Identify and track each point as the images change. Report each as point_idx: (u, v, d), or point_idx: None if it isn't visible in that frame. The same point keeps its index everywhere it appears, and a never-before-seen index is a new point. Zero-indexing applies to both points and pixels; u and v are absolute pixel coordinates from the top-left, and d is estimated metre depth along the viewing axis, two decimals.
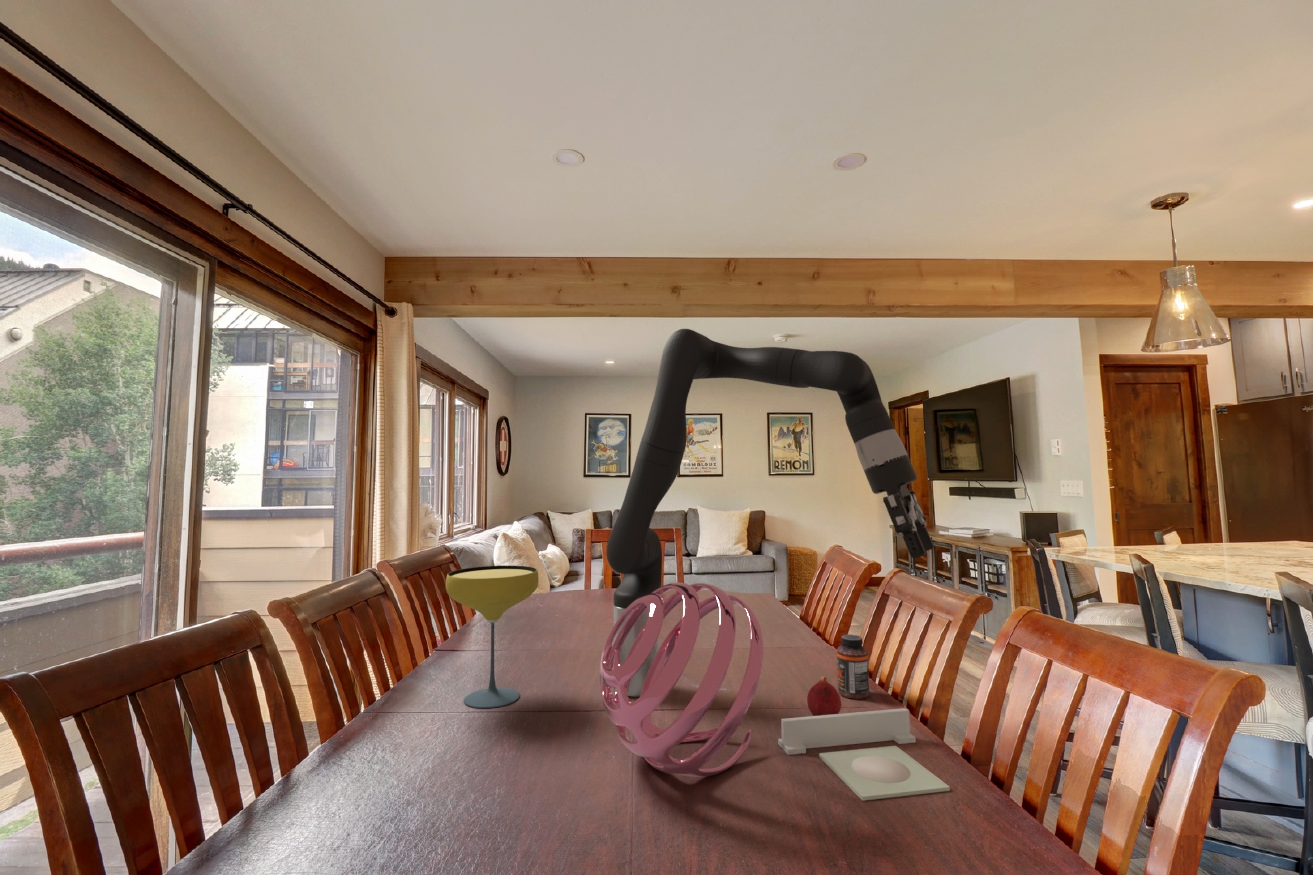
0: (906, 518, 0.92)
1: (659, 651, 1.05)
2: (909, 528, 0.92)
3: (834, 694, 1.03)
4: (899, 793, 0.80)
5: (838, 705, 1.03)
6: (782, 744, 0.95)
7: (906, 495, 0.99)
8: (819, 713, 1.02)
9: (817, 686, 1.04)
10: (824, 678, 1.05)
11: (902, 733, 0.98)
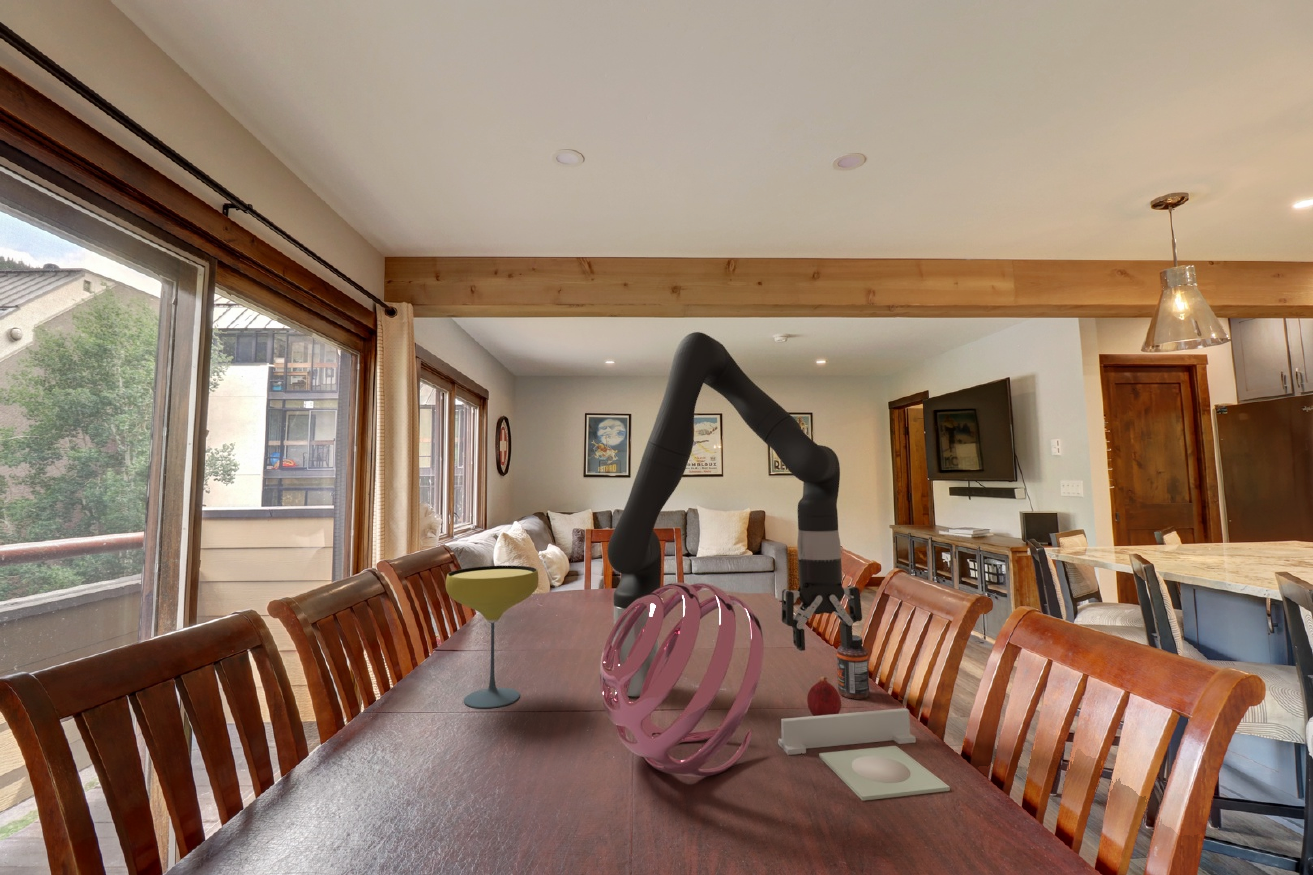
0: (786, 615, 1.04)
1: (659, 651, 1.05)
2: (787, 624, 1.04)
3: (834, 694, 1.03)
4: (899, 793, 0.80)
5: (838, 705, 1.03)
6: (782, 744, 0.95)
7: (822, 593, 1.05)
8: (819, 713, 1.02)
9: (817, 686, 1.04)
10: (824, 678, 1.05)
11: (902, 733, 0.98)
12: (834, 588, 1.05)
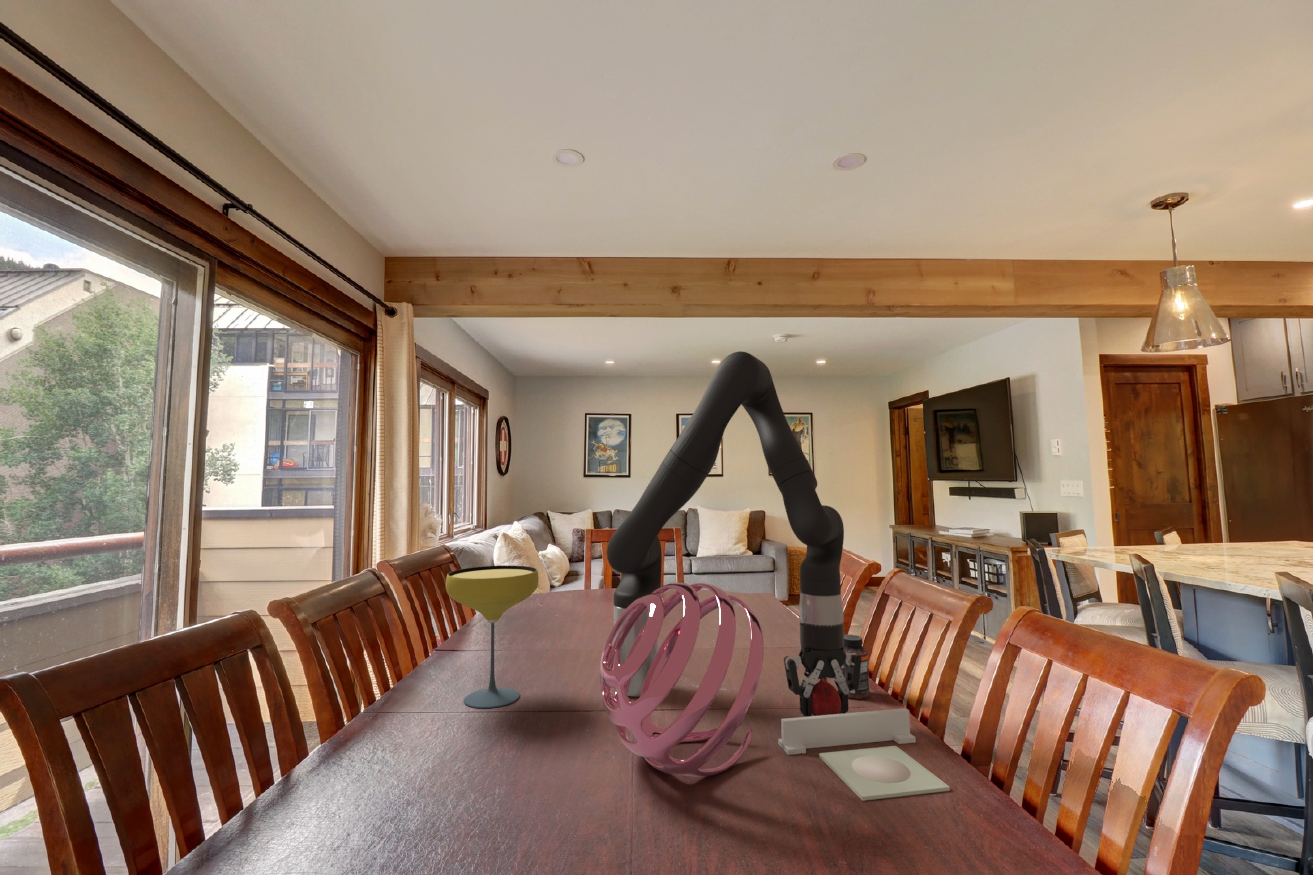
0: (792, 684, 1.03)
1: (659, 651, 1.05)
2: (794, 692, 1.03)
3: (834, 694, 1.03)
4: (899, 793, 0.80)
5: (838, 705, 1.03)
6: (782, 744, 0.95)
7: (824, 657, 1.04)
8: (819, 713, 1.02)
9: (817, 686, 1.04)
10: (824, 678, 1.05)
11: (902, 733, 0.98)
12: (836, 652, 1.05)
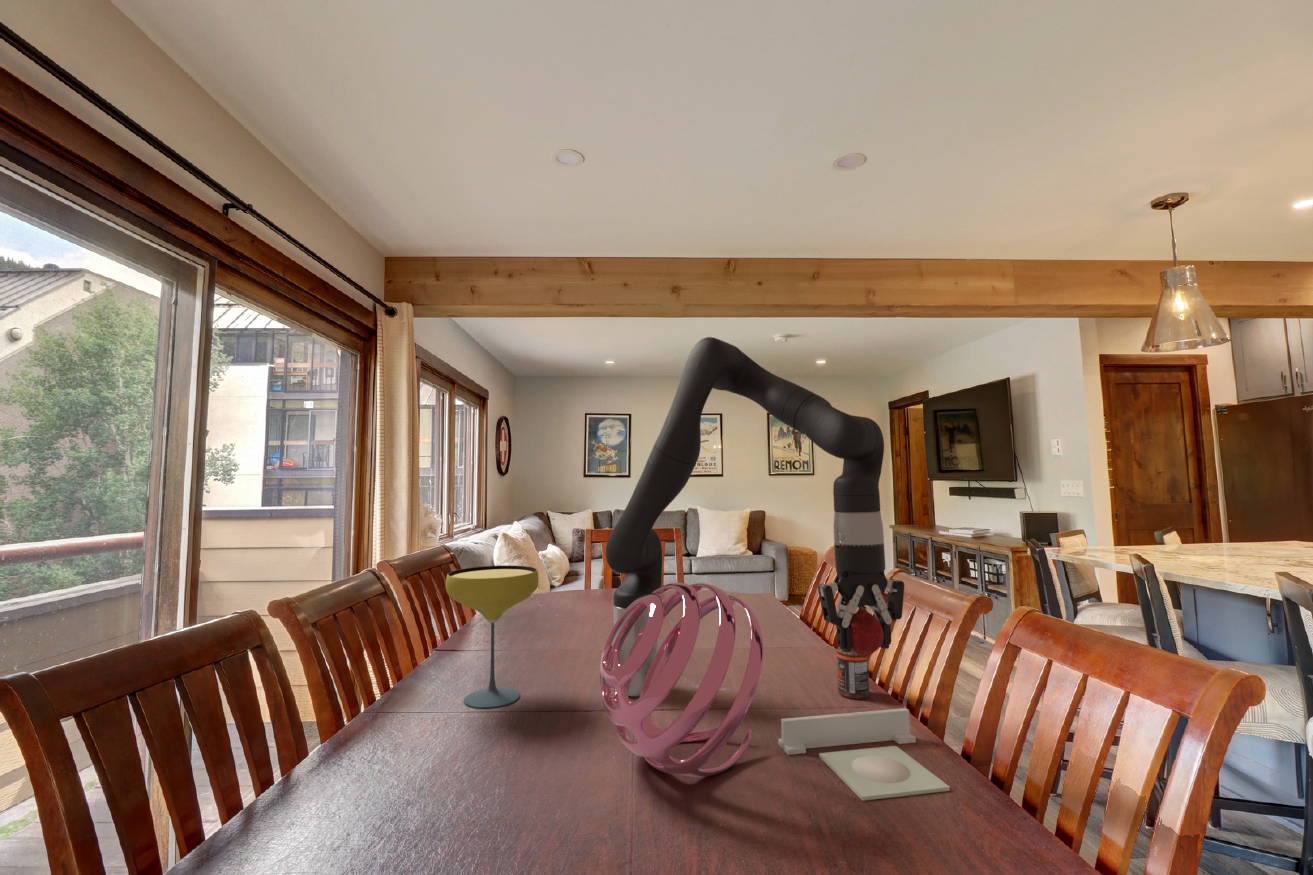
0: (829, 613, 0.91)
1: (659, 651, 1.05)
2: (831, 622, 0.91)
3: (876, 623, 0.92)
4: (899, 793, 0.80)
5: (881, 635, 0.91)
6: (782, 744, 0.95)
7: (863, 583, 0.93)
8: (860, 644, 0.91)
9: (856, 616, 0.93)
10: (863, 607, 0.93)
11: (902, 733, 0.98)
12: (876, 577, 0.93)
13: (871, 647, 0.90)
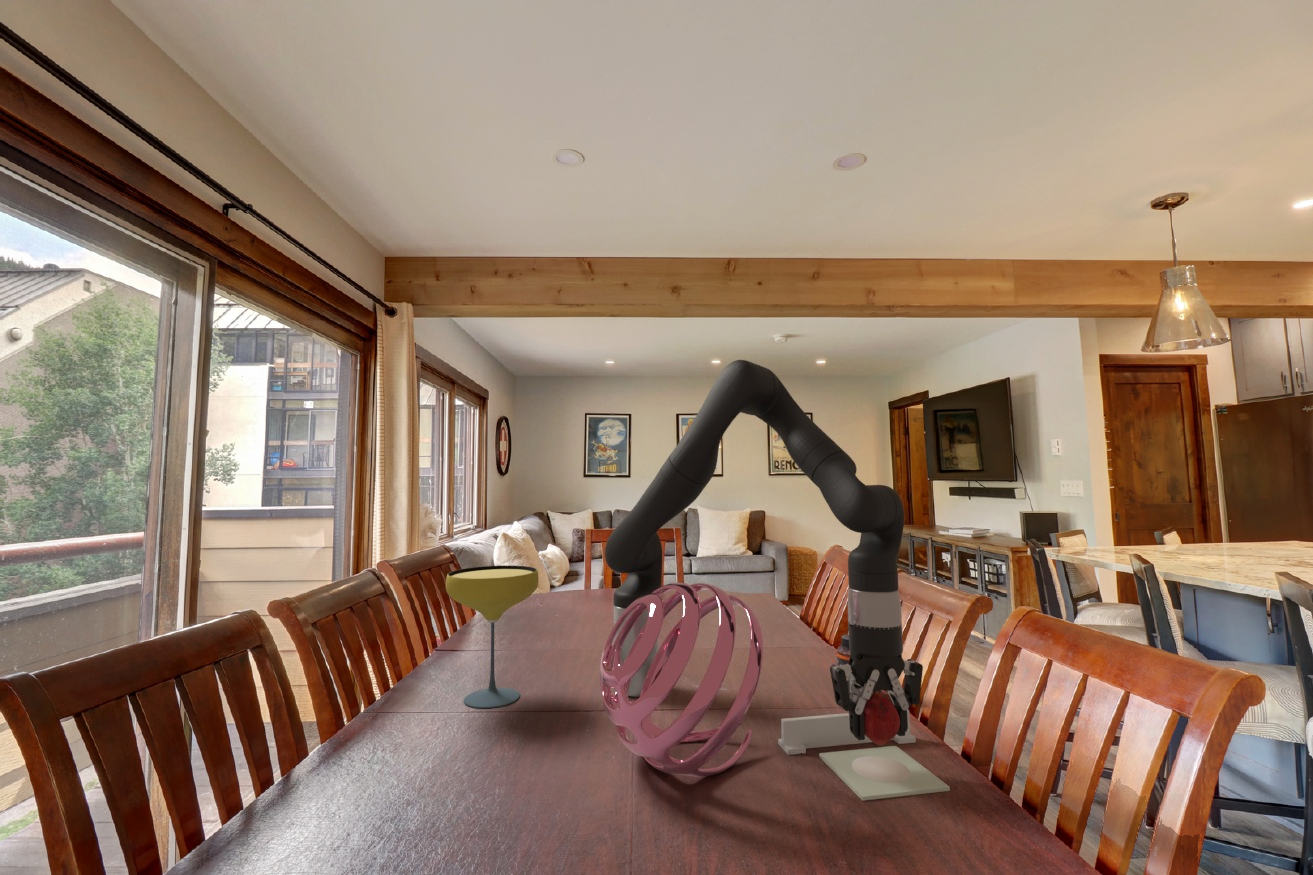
0: (841, 699, 0.86)
1: (659, 651, 1.05)
2: (843, 708, 0.86)
3: (892, 710, 0.86)
4: (899, 793, 0.80)
5: (897, 724, 0.85)
6: (782, 744, 0.95)
7: (878, 666, 0.87)
8: (874, 733, 0.85)
9: (870, 700, 0.87)
10: (879, 691, 0.88)
11: None
12: (893, 660, 0.87)
13: (887, 736, 0.85)
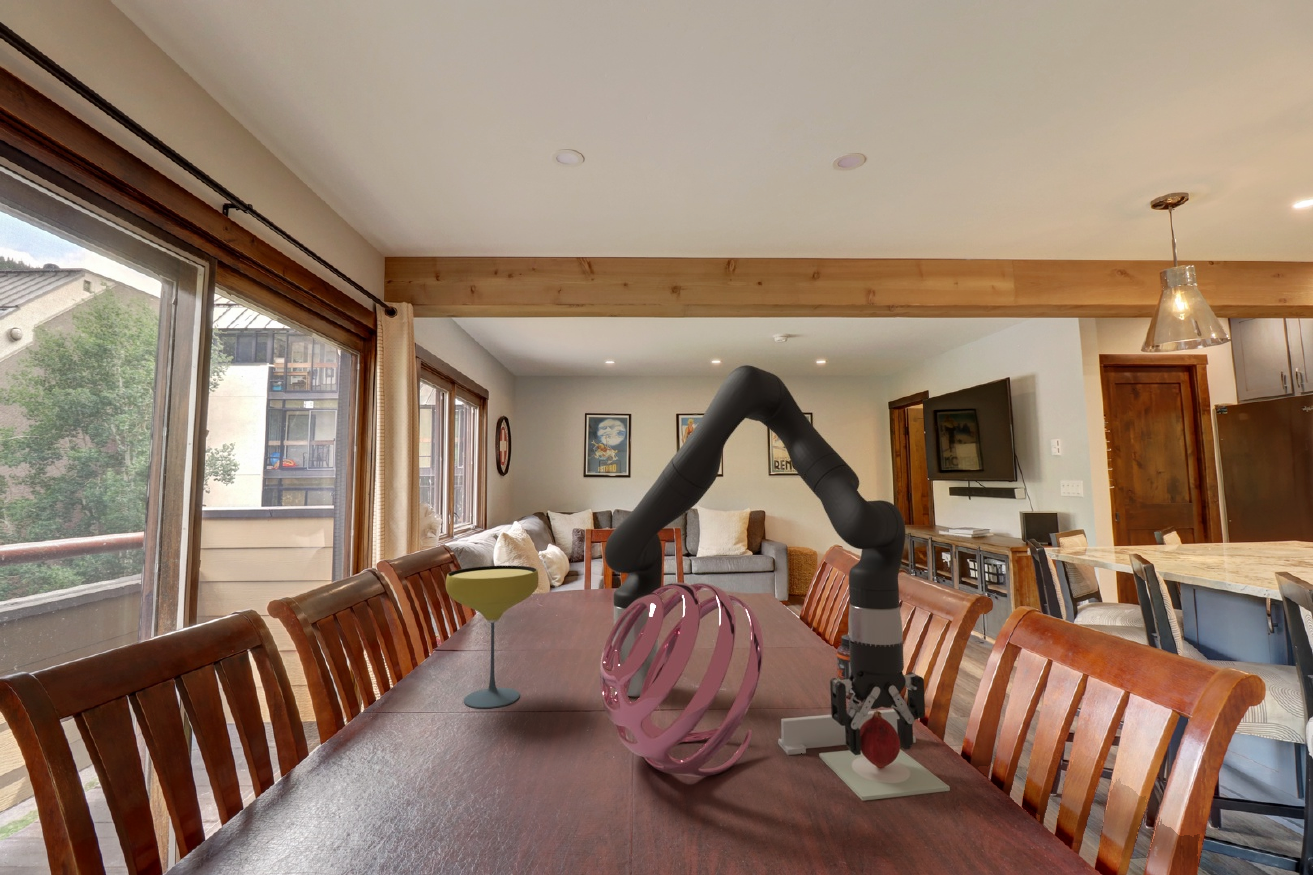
0: (838, 713, 0.85)
1: (659, 651, 1.05)
2: (839, 723, 0.85)
3: (892, 733, 0.85)
4: (899, 793, 0.80)
5: (897, 746, 0.85)
6: (782, 744, 0.95)
7: (879, 683, 0.87)
8: (874, 757, 0.85)
9: (870, 723, 0.87)
10: (878, 713, 0.87)
11: None
12: (894, 677, 0.87)
13: (887, 760, 0.84)
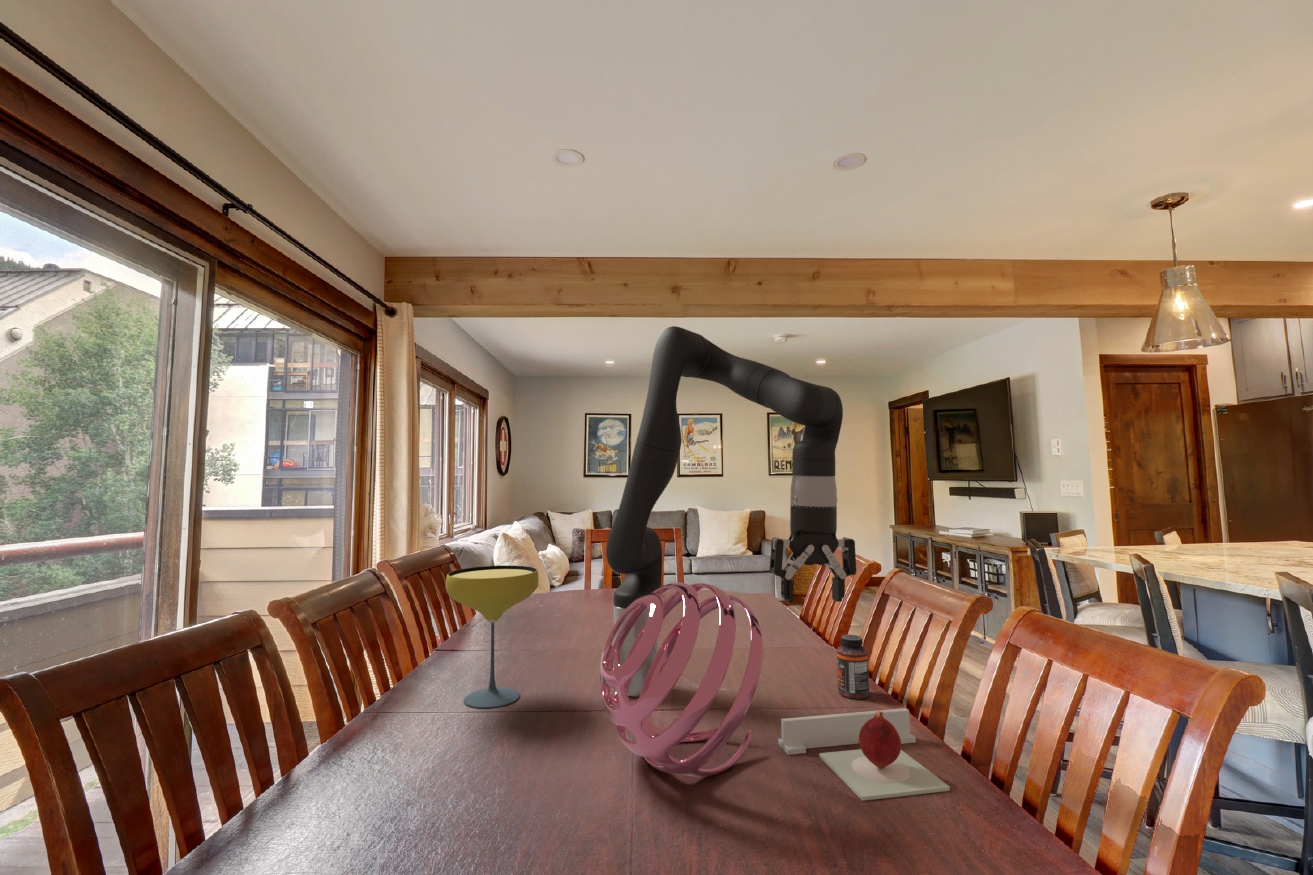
0: (774, 564, 0.97)
1: (659, 651, 1.05)
2: (775, 574, 0.97)
3: (894, 733, 0.86)
4: (899, 793, 0.80)
5: (898, 747, 0.85)
6: (782, 744, 0.95)
7: (814, 543, 0.98)
8: (875, 756, 0.85)
9: (872, 723, 0.87)
10: (880, 713, 0.87)
11: (902, 733, 0.98)
12: (827, 538, 0.98)
13: (888, 760, 0.84)
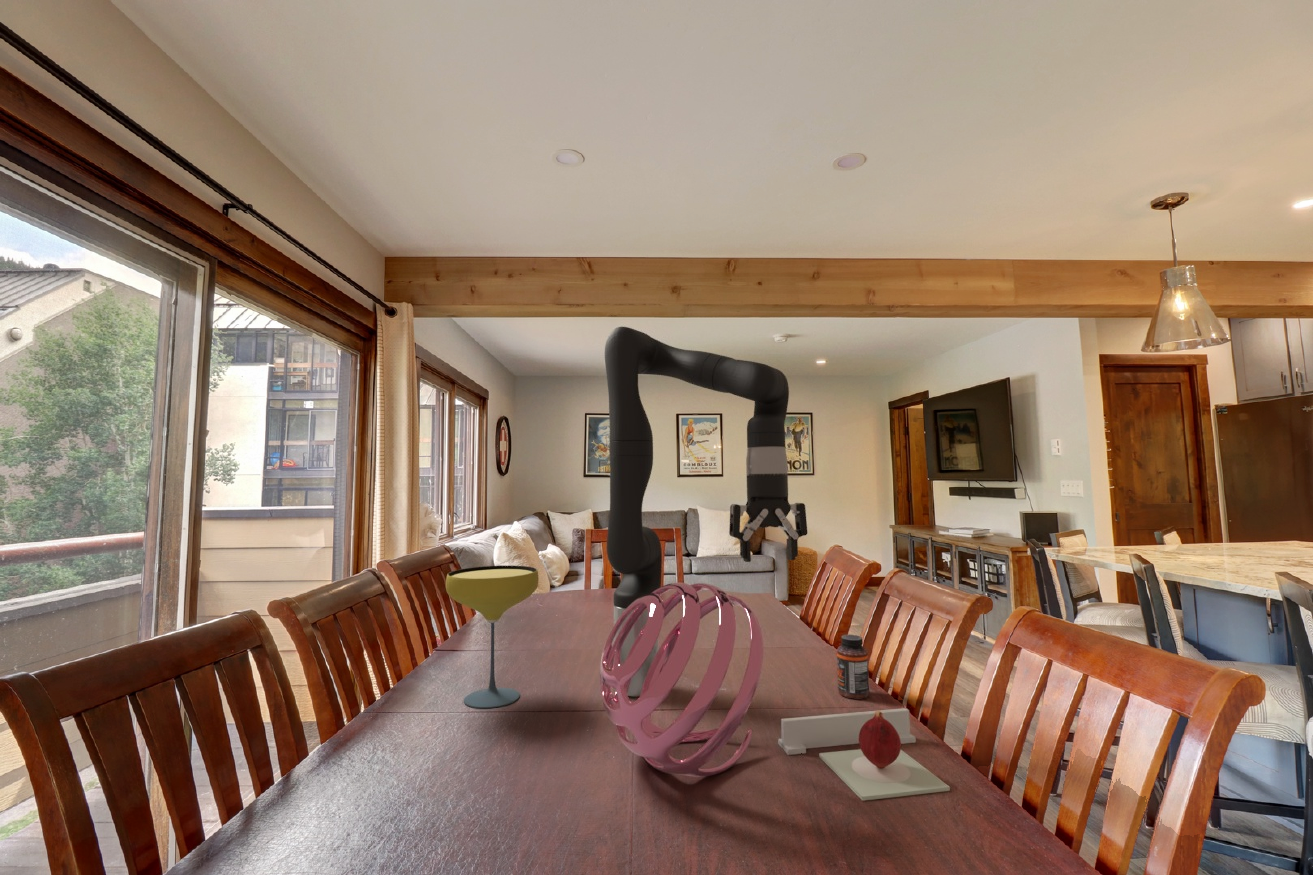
0: (733, 527, 1.07)
1: (659, 651, 1.05)
2: (733, 536, 1.07)
3: (893, 734, 0.86)
4: (899, 793, 0.80)
5: (898, 747, 0.85)
6: (782, 744, 0.95)
7: (768, 507, 1.09)
8: (875, 757, 0.85)
9: (871, 723, 0.87)
10: (880, 713, 0.87)
11: (902, 733, 0.98)
12: (780, 503, 1.09)
13: (888, 760, 0.84)
